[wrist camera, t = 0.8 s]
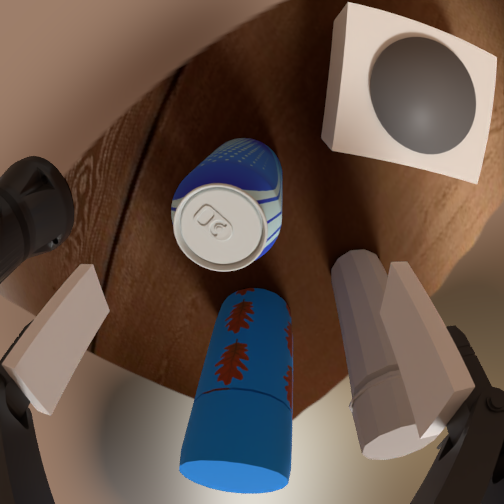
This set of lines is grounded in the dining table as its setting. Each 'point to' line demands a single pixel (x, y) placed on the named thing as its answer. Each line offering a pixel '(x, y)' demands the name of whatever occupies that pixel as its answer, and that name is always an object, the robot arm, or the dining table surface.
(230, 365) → the thermos
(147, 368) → the dining table surface
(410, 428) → the water bottle
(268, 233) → the beer can
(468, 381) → the robot arm
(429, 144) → the white block with disc
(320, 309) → the dining table surface
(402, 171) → the dining table surface
